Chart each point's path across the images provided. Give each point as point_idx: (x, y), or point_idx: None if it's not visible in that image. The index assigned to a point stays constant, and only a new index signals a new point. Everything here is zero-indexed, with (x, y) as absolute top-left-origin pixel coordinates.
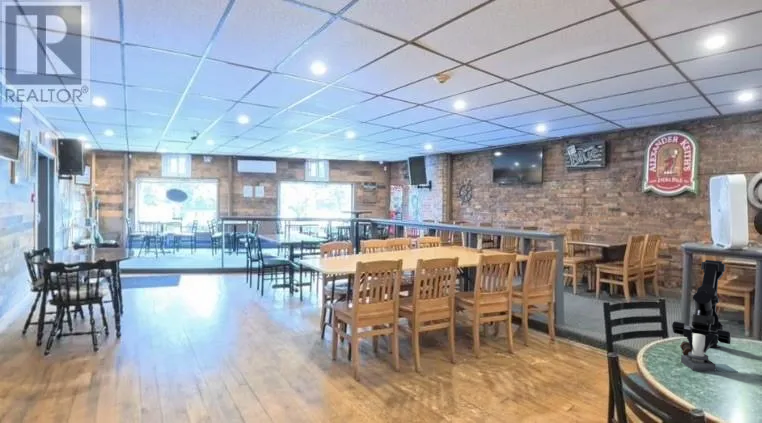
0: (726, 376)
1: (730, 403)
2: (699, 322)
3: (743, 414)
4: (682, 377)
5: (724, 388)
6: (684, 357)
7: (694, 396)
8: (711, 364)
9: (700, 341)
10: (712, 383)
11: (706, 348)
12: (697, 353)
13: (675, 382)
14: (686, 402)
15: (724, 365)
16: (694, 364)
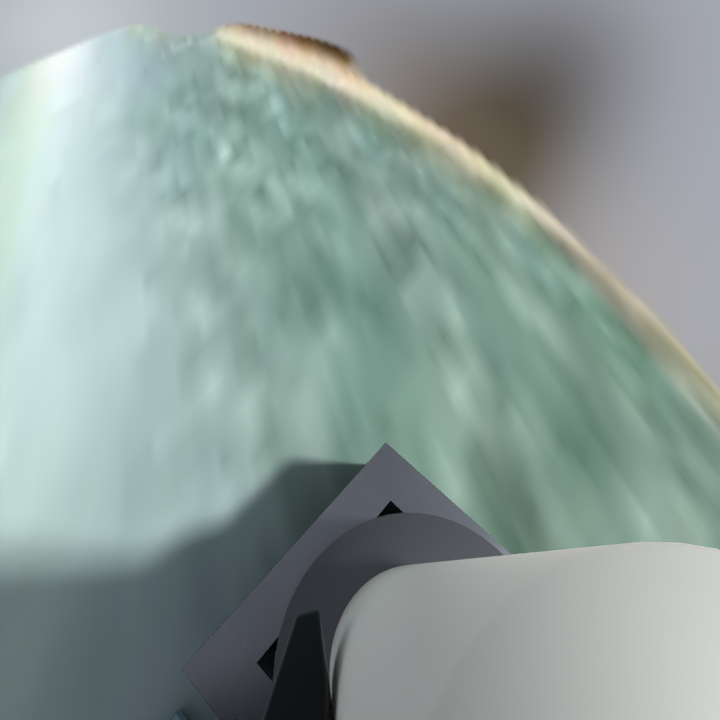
0: (94, 598)
1: (84, 127)
2: None
3: (36, 73)
4: (365, 261)
5: (112, 283)
6: None
7: (239, 99)
8: (228, 620)
9: (431, 584)
10: (191, 307)
11: (279, 675)
12: (406, 566)
13: (359, 174)
14: (251, 46)
15: None
16: (374, 458)
